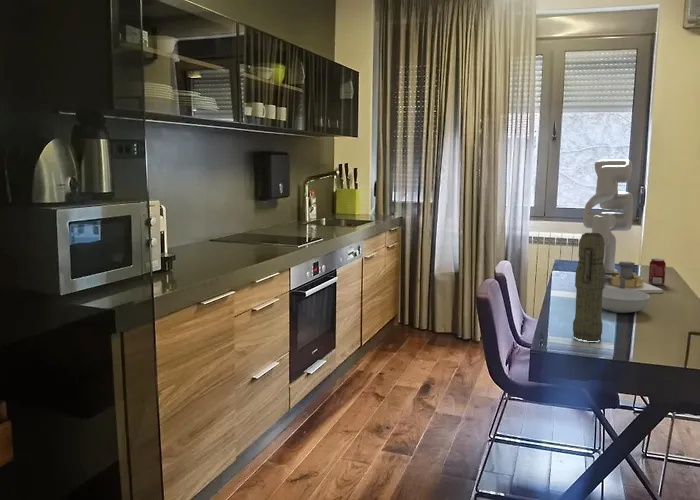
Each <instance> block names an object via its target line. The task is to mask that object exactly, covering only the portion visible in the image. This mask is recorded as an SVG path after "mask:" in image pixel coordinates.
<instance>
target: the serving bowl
mask: <svg viewBox="0 0 700 500" xmlns="http://www.w3.org/2000/svg"><path fill="white" fill-rule="evenodd" d="M650 298H651V296H650V295H649V293H643V292H640V291H635V290H629V289H621V288H604V289H603V291H602V310H607V311H608V310H609V311H608V312H611V311H612V313H616V314H617V313H618V314H630V313H636V312H640V311H641V310H643V309H645V308H646V307H647V306H648V304H649V302H650Z"/></svg>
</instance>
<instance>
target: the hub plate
mask: <svg viewBox="0 0 700 500" xmlns="http://www.w3.org/2000/svg"><path fill="white" fill-rule="evenodd" d="M618 265H619V267H620V272H619V275H622V278H620V286H616V285H612V284H610V283H605V284H604V288H621V289H629V290H635V291H640V292H643V293H646V294H663V292H664V289H662V288H659V287H657V286H656V285H652V284H650V283H647V282H645V281H643V285H642V286H639V287H625V279H632V273H633V269H634V268H633V267H635V262H632V261H619V262H618Z"/></svg>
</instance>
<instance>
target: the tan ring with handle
mask: <svg viewBox="0 0 700 500" xmlns="http://www.w3.org/2000/svg"><path fill="white" fill-rule="evenodd" d="M620 278H622V275H620V272H619V271H617V272H612V273H611V275H609V276H605V283H610V284H612V285H616V286H620ZM643 282H644V278H643V277H642V276H641V275H637V273H636V272H632V279H625V287H639V286H642V285H643Z"/></svg>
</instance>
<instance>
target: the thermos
mask: <svg viewBox="0 0 700 500" xmlns="http://www.w3.org/2000/svg"><path fill="white" fill-rule="evenodd" d="M604 246H605V243H604V239H603V236H602V235H600V234H599V233H592V232H584V233H582V235H581V236H580V240H579V242H578V255H577V256H578V261H577V262H578V263H577V266H576V269H575V277H574V278H575V281H574V282H575V284H574V287H575V288H576V289H575V290H576V292H575V293H576V294H575V311H574V312H575V314H574V319H573V321H572V332H573V333H572V334H573V336H574V337H576V338H578V339H582V340H587V341H598V340H601V341H602V334H603V320H602V310H603V308H602V291H603V289H604V284H605V277H606V273H605V269H604V266H603V265H604V263H603V258H604ZM573 336H572V337H573Z"/></svg>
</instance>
